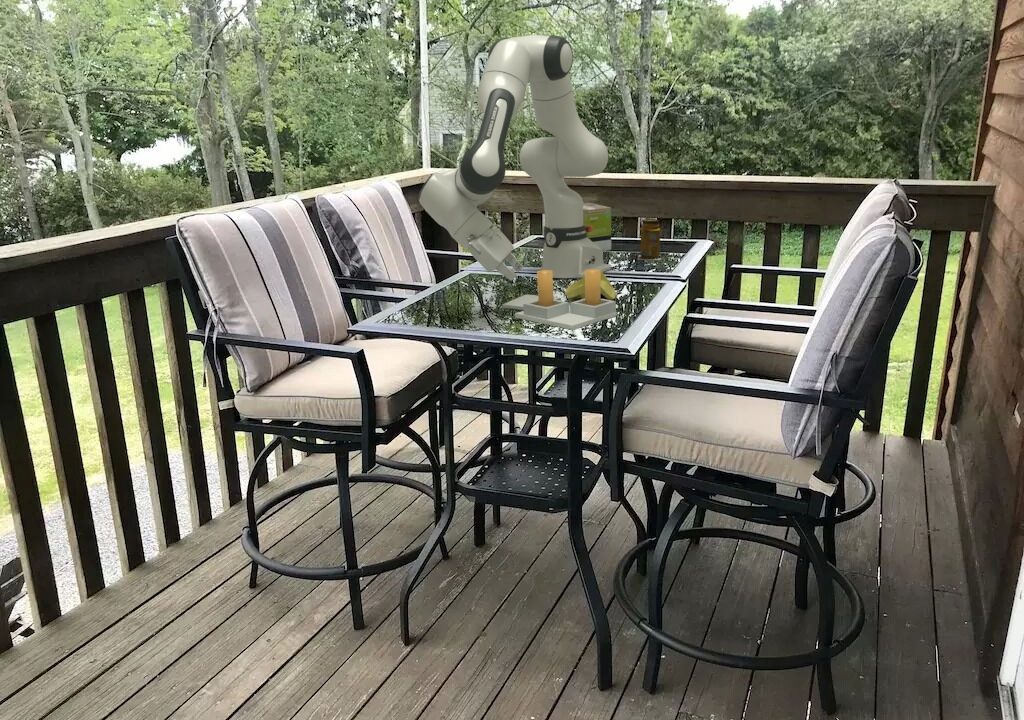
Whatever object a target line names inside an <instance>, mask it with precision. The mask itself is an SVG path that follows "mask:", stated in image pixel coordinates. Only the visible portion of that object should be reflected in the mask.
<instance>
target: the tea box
mask: <svg viewBox="0 0 1024 720" xmlns="http://www.w3.org/2000/svg"><path fill="white" fill-rule="evenodd" d="M583 225H584V226H586V225H588V226H592V227H593V229H592V230H593V232H587V235H588V237H587V238H589V239H590V240H591V241H592V242H593V243H594V244H596V245H597V246H598V247H599V248H600V249H601V250H602V252H606V251H611V250H612V207H610V206H605V205H601V204H597V203H592V202H583Z"/></svg>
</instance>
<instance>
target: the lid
mask: <svg viewBox="0 0 1024 720" xmlns="http://www.w3.org/2000/svg"><path fill="white" fill-rule="evenodd" d="M553 299H554V300H559V301H561V297H556V296H553ZM536 300H538V294H536V295H535V294H527V293H526V294H524V295H521V296H519V297H517V298H514V299H512V300H509V301H508V302H504V303H503V304H501V307H502V308H503V309H511V310H512V309H513V310H520V311H523V304H525V303H528V302H532V301H536Z"/></svg>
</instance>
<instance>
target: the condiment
mask: <svg viewBox="0 0 1024 720" xmlns="http://www.w3.org/2000/svg"><path fill="white" fill-rule="evenodd" d="M641 222H642V224H641V227H642V228H641V229H640V254H637V255H638V256H637V259H636V260H638V261H639V260H640V261H661V260H662V255H661V254H660V250H661V249H660V248H661V247H660V246H661V228H660V220H659V219H655V218H647V219H643V220H642V221H641ZM659 256H661V258H659ZM655 258H659V259H655ZM651 259H653V260H651Z"/></svg>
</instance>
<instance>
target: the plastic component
mask: <svg viewBox="0 0 1024 720" xmlns="http://www.w3.org/2000/svg"><path fill="white" fill-rule="evenodd" d="M564 294H565V296H566V297H567V298H569V300H571V302H574V301H577V300H579V298H580V300H581V299H585V277H584V278H580V279H579V280H576V281H574V282H572V283H571V284H570V285H569V286H568V287H567V288H566V289H565V291H564ZM601 295H602V296H603V297H604V298H606V300H611V301H613V300H614V299H616V296H617V291H616V290H615V289H614V286H613V285H612V284H611V282H610V281H609V279H608V278H607V276H606V275H605V274H604V272H601Z"/></svg>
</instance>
